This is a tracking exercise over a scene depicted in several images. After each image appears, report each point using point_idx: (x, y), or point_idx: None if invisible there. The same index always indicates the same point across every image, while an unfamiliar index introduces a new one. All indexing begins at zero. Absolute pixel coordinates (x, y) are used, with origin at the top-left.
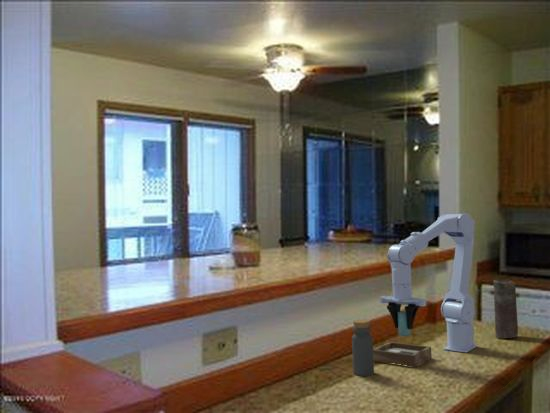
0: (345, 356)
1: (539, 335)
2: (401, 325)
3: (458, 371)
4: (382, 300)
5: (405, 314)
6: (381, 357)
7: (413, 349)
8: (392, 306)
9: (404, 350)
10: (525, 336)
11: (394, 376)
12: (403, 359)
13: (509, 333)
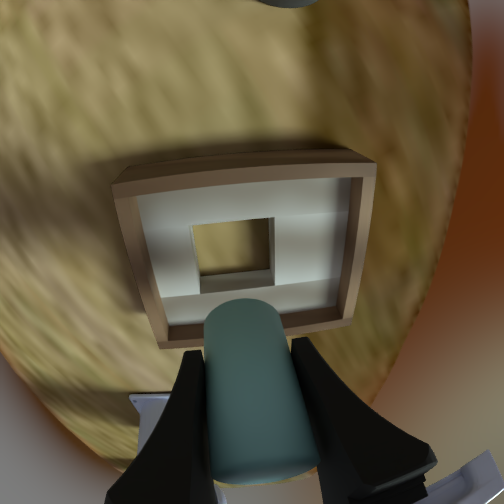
0: (456, 166)
1: None
2: (247, 356)
3: (3, 233)
4: (481, 478)
5: (221, 453)
6: (310, 154)
7: None
8: (372, 489)
9: (264, 298)
10: None
11: (130, 3)
12: (178, 166)
13: None
